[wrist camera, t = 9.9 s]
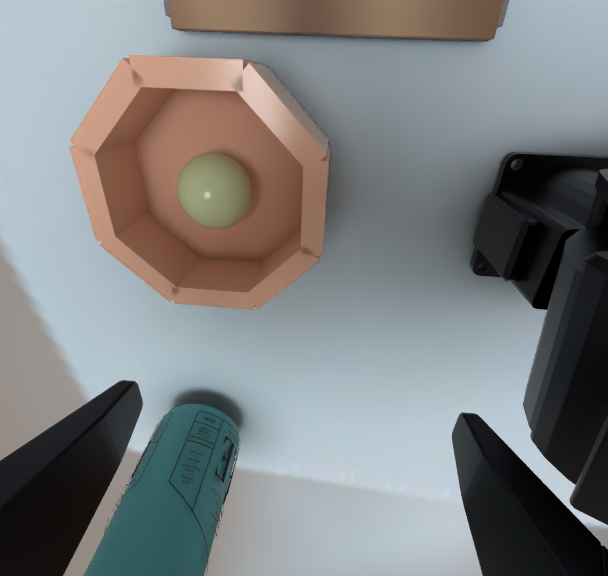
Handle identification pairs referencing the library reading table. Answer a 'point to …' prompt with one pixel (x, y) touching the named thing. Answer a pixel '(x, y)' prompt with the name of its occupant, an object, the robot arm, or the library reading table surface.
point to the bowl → (204, 178)
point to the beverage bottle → (172, 498)
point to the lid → (342, 17)
